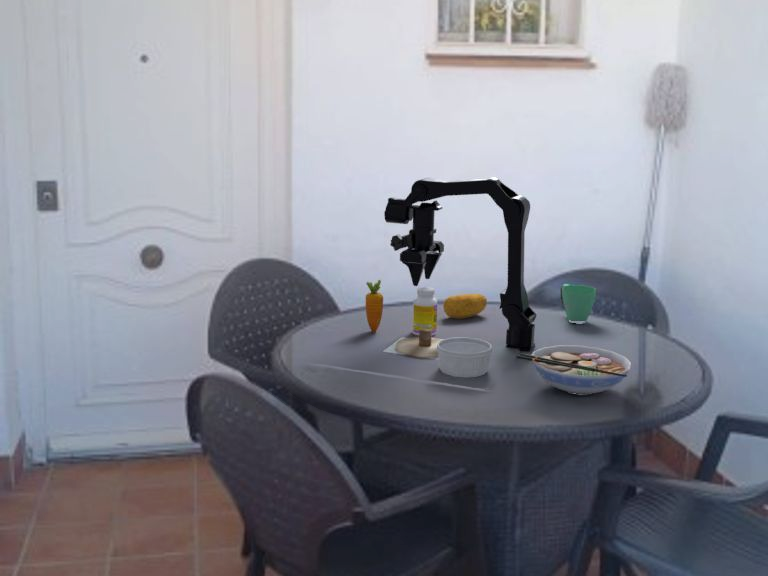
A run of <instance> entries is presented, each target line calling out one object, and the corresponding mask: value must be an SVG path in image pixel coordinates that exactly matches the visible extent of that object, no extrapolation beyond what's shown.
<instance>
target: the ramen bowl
mask: <svg viewBox="0 0 768 576" xmlns="http://www.w3.org/2000/svg"><path fill="white" fill-rule="evenodd" d="M515 358H516V359H519V360H523V361H524V360H525V361H530V362H532V364H533V366H534V367H535V369H536V371H537V372H538V373H539V376H541V378H542V379H543V380H544V381H545V382H546V383H547V384H548V385H551V386H552V387H554V388H555V389H556V388H557V389H558V390H561V391H563V390H564V392H565V391H567V392H570V393H576V394H590V393H593V394H597V393H601V392H604V391H607V390H609V389H611V388H614V387H616V386H617V385H618V384H620V383H621V382H622V381H623V379H624V378H627V377H628V373H629V371H630V370H631V367H632V362H631V361H630V360H629V359H628V358H627V357H626V356H624V355H622V354H619V353H617V352H615V351H611V350H608V349H603V348H600V347H593V346H586V345H585V346H584V345H564V344H563V345H552V346H545V347H541V348H539V349H537V350H534V351H533V352H532V354H527V353H521V352H520V353H519V354H517V355H516V357H515ZM567 392H566V393H567ZM570 393H569V394H570ZM590 395H591V394H590Z"/></svg>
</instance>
